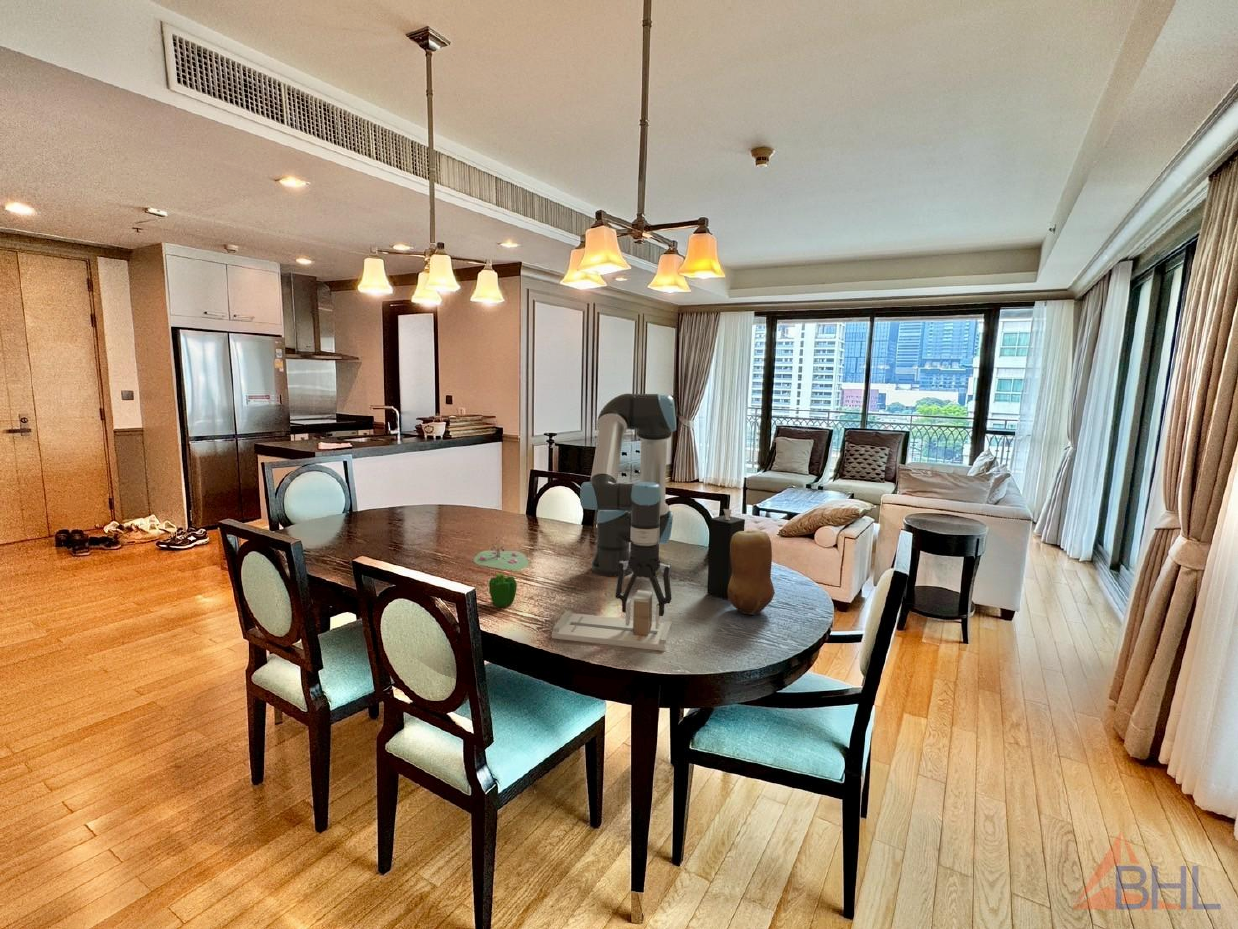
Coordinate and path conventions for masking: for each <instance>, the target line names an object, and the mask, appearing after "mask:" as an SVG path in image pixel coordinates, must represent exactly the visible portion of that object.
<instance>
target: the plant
mask: <svg viewBox="0 0 1238 929" xmlns="http://www.w3.org/2000/svg"><path fill="white" fill-rule="evenodd" d="M495 539H496V540H494V539H491V542H492V548H491V549H490V550H483V551H479V553H478V554H477V555H476V556H475V557H474V558H473V563H474V564H477V565H479V566H486V567H489V568H496V569H502V570H508V571H513V572H514V571H515V572H517V571H521V570H523V569H526V568H527V567H528V566H530V561H528V558H527V557H526V555H525V554H524V553H522V552H520V551H518V550H516V551H515V550H505V549H504V545H503V544H502V545H501V544H500V539H498V536H496V537H495ZM497 539H498V540H497Z"/></svg>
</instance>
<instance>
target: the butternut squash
mask: <svg viewBox="0 0 1238 929" xmlns="http://www.w3.org/2000/svg"><path fill="white" fill-rule="evenodd" d="M772 548H773V547H772V541H771V537H770V536H769V534H768V533H767V532H765V531H762V530H759V529H758V530H757V529H753V530H752V529H751V530H750V529H749V530H744V531H739V532H737V533H735V534H734V535H733V536H732V539H731V542H730V557H731V564H732V575H731V578H730V581H729V585H728V597H729V599H728V600H729V602H730V603H731V604H732V606H733V608H735V609H736V610H738V611H739V612H741V613H742V614H747V615H753V616H754V615H755V616H756V615H758V614H760V613H761V612H762V611H764V609H766V607H767V606H768V605H769V604H770V603H772V601H773V599H774V597H775V596H774V595H775V594H776V592H775V588H774V584H773V581H772V566H773V565H772V562H773V561H772V560H773V552H772V550H773V549H772Z"/></svg>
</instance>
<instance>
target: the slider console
mask: <svg viewBox="0 0 1238 929" xmlns="http://www.w3.org/2000/svg"><path fill="white" fill-rule="evenodd" d="M625 625H626V618H621V617H613V616H605V615H603V616H602V615H595V614H594V615H593V614H584V613H575V612H572V610H565V612H564V613H563V614H562V616H560V618H559V619H558V621H557V622H556V623H555V624H554V626H553V627H552V632H551V639H557V640H565V641H574V642H581V643H582V642H583V643H592V644H600V645H608V646H617V647H618V646H619V647H627V648H628V647H629V648H635V649H645V650H653V651H662V652H665V651H666V649H667V646H668V644H669V643H668V642H669V639H670V636H671V633H672V630H673V622H672V621H670V620H665V621H664V622H661V621H660V626H659V629H655V627H656V621H652V627H651V629H650V632H649V634H648V636H647V635H638V634H633V619H631V618H630V624H629V626H625Z"/></svg>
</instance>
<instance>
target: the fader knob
mask: <svg viewBox="0 0 1238 929" xmlns="http://www.w3.org/2000/svg"><path fill="white" fill-rule="evenodd" d="M632 610H633V612H632V613H633V615H632V618H633V634H638V635H647V636H648V634H649V632H650V629H651V627H652V620H653V591H650V590H639V589H638V590H637V591H636V593H635V595H634V596H633V609H632Z"/></svg>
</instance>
